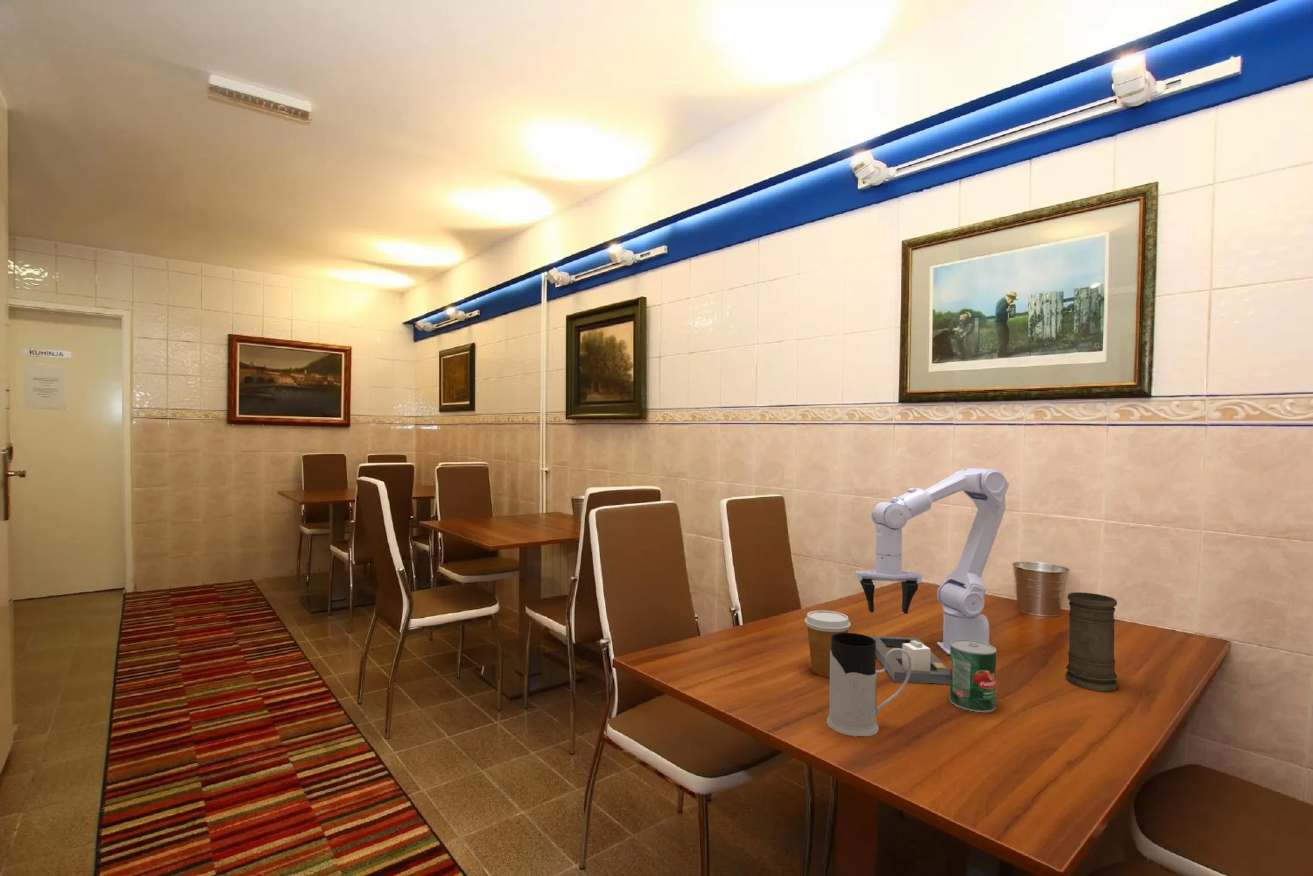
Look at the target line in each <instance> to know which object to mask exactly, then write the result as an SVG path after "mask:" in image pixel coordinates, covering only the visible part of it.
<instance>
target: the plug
mask: <svg viewBox="0 0 1313 876" xmlns="http://www.w3.org/2000/svg"><path fill="white" fill-rule="evenodd" d="M926 646H927V645H926ZM926 646H924V645H923V644H921V643H919V642H917V641H915V640H914V641H910V643H904V644H902V647H901V648H902V649H903V650H905V651H906V652H907V653H908V654H909V656H910V658H911V670H912V671H930V650H931V648H930V647H928V646H927V647H926ZM908 666H909V661H908V656H907V654H905V653H904V652H902V667H903V669H904V670H908Z"/></svg>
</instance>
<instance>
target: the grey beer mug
mask: <svg viewBox="0 0 1313 876" xmlns="http://www.w3.org/2000/svg"><path fill="white" fill-rule="evenodd" d="M869 636H870V635H865V634H860V633H853V632H848V633H838V634H834V635H832V637H831V651H830V677H829V703H828V704H829V710H828V711H829V712H828V716H827V718H826V724H827V726H828V727H829V728H831V730H833V731H834V732H837V733H839V734H842V735H846V736H851V737H857V736H865V737H870V736H871V737H872V736H874V735H876V734H877V733H878V732H879V730H880V729H879V728H880V727H879V725H878V723H877V721H878V720H877V717H878V714H879V712H880V710H881V709H882V708H884V707H885V706H886V705H888V704H889V703H890V702H892V701H893V700H894V699H895V698H897V697H898V696H899V695H900V694H901V693H902V692H903V691H904V689H905V688H906V686H907V684H908V683H907V682H908V680H909V677H910V673H911V658H910V656H909V654H908V653H907V652H906V651H905V650H903V649H900V648H901V647H893V648H894V649H891V650H890V651H889V652H888V653H887V654H886V656H885V660H884V667H883V668H882V669H880V670H879V669H877V668H876V667H877V666H876V663H877V661H876V659H877V657H876V641H875V640H874V639H873V638H871V637H869ZM894 651H902V652H904V653H905V654H907V656H908V661H909V666H908V673H907V676H906V679H905V681H904V682H902V684H901V686H900V688H899V689H898V690H897V691H895V693H894V694H892V695H891V696H890V697H889V698H887V699H886V700H884V701H883V702H882V703H880V704H879V705H878V706H877V674H882V673H884V672H885V671H886V668H887V660H888V657H889V655H890V654H891V653H892V652H894ZM886 672H887V671H886Z"/></svg>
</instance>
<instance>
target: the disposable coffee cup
mask: <svg viewBox="0 0 1313 876" xmlns="http://www.w3.org/2000/svg"><path fill="white" fill-rule="evenodd" d="M804 622H805V625H806V627H807V636H808V637H807V638H808V645H809V655H810V664H811V672H813V673H814V674H815V675H818V676H820V677H821V676H822V677H828V678H830V651H831V637H832V635H834V634H838V633H849V629H850V626H851V622H850V619H849V616H848V615H846V614H844V613H841V612H839V611H833V610H832V611H831V610H813V611H809V612H807V613H806V618H804Z"/></svg>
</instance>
